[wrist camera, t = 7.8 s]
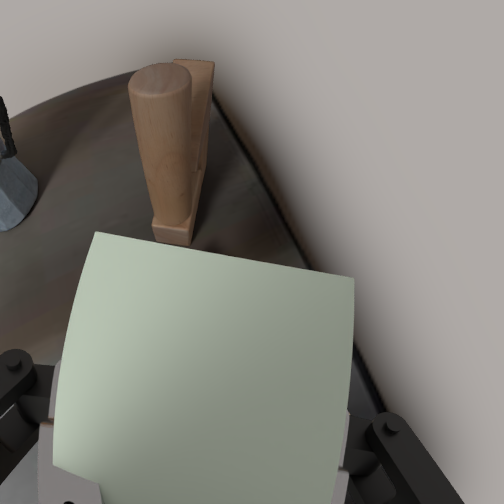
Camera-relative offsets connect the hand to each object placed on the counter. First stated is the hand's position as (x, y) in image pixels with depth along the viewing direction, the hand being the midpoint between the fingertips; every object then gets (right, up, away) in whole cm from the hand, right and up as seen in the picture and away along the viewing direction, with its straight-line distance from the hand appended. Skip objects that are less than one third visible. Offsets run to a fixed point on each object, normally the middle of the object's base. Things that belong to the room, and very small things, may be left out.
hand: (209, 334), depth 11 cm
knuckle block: (-1, -4, +3) cm, 5 cm away
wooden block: (-6, +9, +20) cm, 23 cm away
